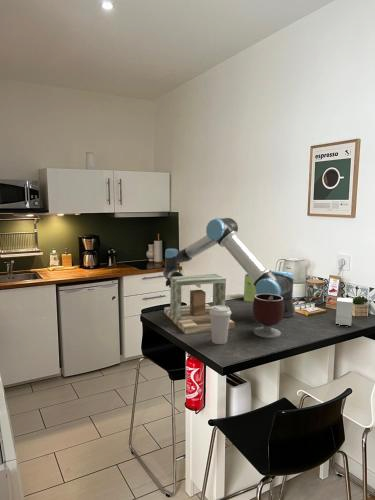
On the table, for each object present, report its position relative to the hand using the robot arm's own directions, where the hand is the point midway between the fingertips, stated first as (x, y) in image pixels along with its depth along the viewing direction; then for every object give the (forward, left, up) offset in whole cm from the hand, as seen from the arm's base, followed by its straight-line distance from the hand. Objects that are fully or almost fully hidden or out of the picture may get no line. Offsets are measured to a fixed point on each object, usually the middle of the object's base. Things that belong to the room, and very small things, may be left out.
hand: (188, 286), depth 207 cm
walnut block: (-12, +6, -12) cm, 18 cm away
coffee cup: (-37, +23, -15) cm, 46 cm away
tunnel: (-12, +6, -15) cm, 20 cm away
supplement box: (-69, -39, -15) cm, 81 cm away
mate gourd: (-48, -1, -15) cm, 50 cm away
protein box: (-14, -50, -15) cm, 54 cm away
